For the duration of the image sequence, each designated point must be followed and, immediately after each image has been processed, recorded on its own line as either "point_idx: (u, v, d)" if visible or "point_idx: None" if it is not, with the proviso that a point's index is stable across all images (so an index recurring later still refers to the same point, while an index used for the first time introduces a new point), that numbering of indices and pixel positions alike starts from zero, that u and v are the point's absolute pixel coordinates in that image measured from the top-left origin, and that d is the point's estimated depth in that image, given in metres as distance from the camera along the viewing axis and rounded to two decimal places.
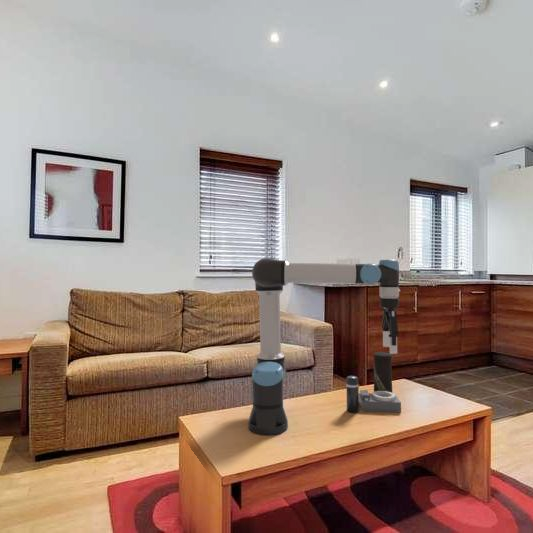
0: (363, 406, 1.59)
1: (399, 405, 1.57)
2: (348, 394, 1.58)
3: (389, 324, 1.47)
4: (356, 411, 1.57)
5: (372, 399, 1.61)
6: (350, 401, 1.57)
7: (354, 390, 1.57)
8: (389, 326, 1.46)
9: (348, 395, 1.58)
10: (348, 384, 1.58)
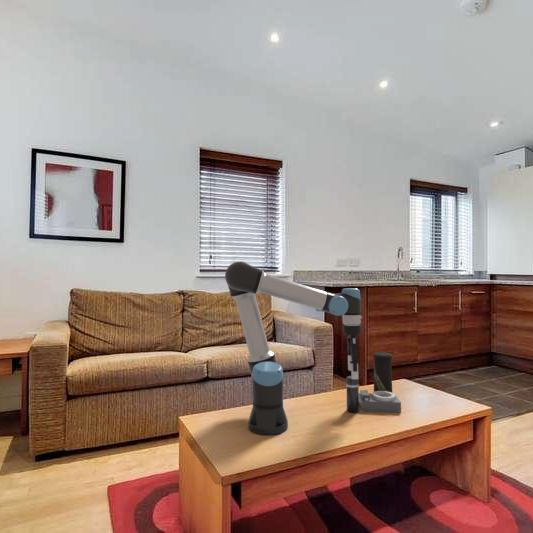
0: (363, 406, 1.59)
1: (399, 405, 1.57)
2: (348, 394, 1.58)
3: (351, 351, 1.54)
4: (356, 411, 1.57)
5: (372, 399, 1.61)
6: (350, 401, 1.57)
7: (354, 390, 1.57)
8: (351, 353, 1.54)
9: (348, 395, 1.58)
10: (348, 384, 1.58)
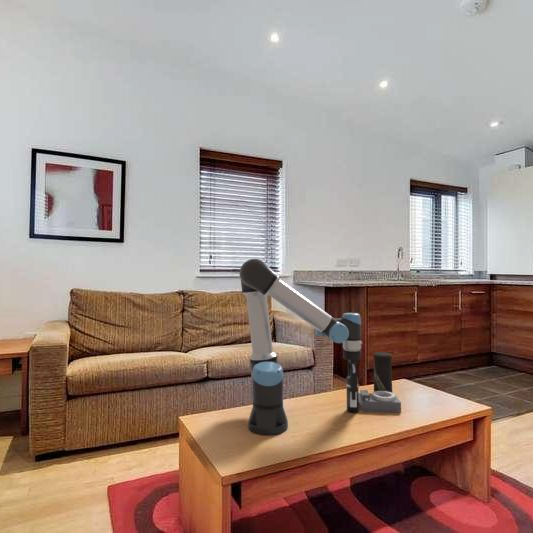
0: (363, 406, 1.59)
1: (399, 405, 1.57)
2: (348, 394, 1.58)
3: (350, 378, 1.56)
4: (356, 411, 1.57)
5: (372, 399, 1.61)
6: None
7: None
8: (350, 380, 1.56)
9: (348, 395, 1.58)
10: (348, 384, 1.58)
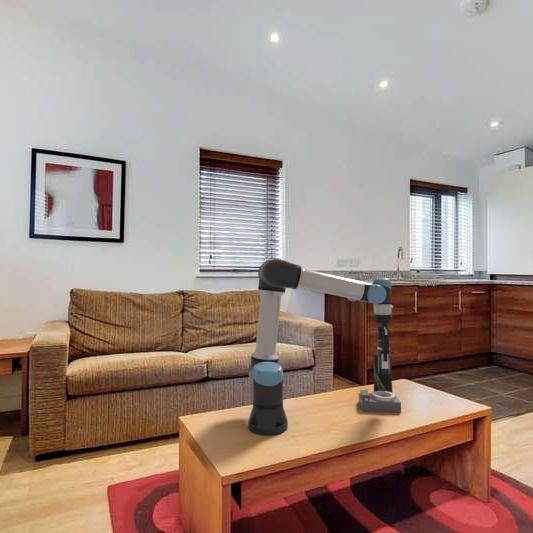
0: (363, 406, 1.59)
1: (399, 405, 1.57)
2: (380, 356, 1.62)
3: (382, 341, 1.61)
4: (388, 373, 1.61)
5: (372, 399, 1.61)
6: None
7: None
8: (382, 343, 1.61)
9: (380, 357, 1.62)
10: (380, 347, 1.62)
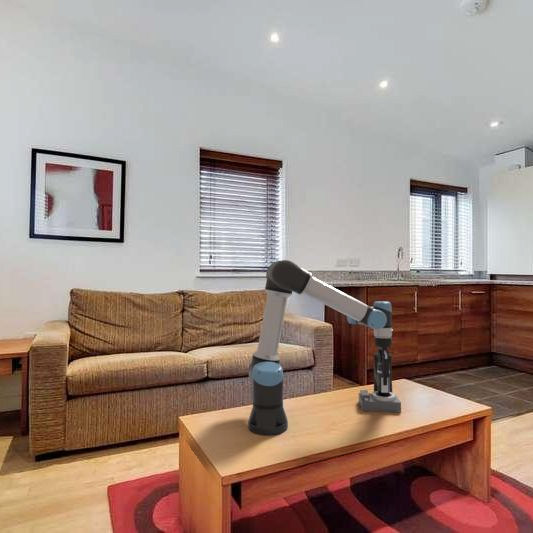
0: (363, 406, 1.59)
1: (399, 405, 1.57)
2: (379, 380, 1.62)
3: (382, 365, 1.61)
4: (387, 396, 1.61)
5: (372, 399, 1.61)
6: None
7: None
8: (381, 367, 1.61)
9: (379, 381, 1.62)
10: (379, 370, 1.62)
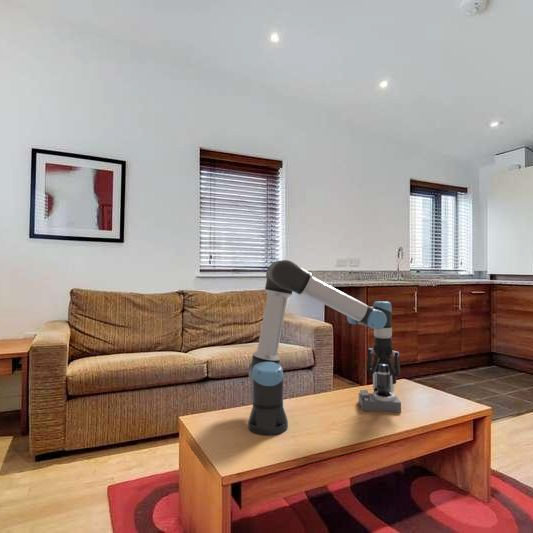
0: (363, 406, 1.59)
1: (399, 405, 1.57)
2: (385, 382, 1.61)
3: (390, 364, 1.61)
4: None
5: (372, 399, 1.61)
6: (387, 388, 1.61)
7: None
8: (391, 366, 1.60)
9: (385, 383, 1.61)
10: (385, 372, 1.61)
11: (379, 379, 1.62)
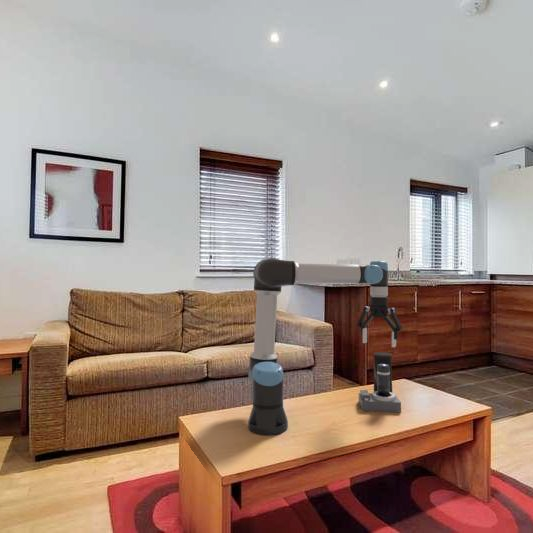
0: (363, 406, 1.59)
1: (399, 405, 1.57)
2: (385, 382, 1.61)
3: (389, 320, 1.60)
4: None
5: (372, 399, 1.61)
6: (387, 388, 1.61)
7: None
8: (390, 322, 1.60)
9: (385, 383, 1.61)
10: (385, 372, 1.61)
11: (379, 379, 1.62)
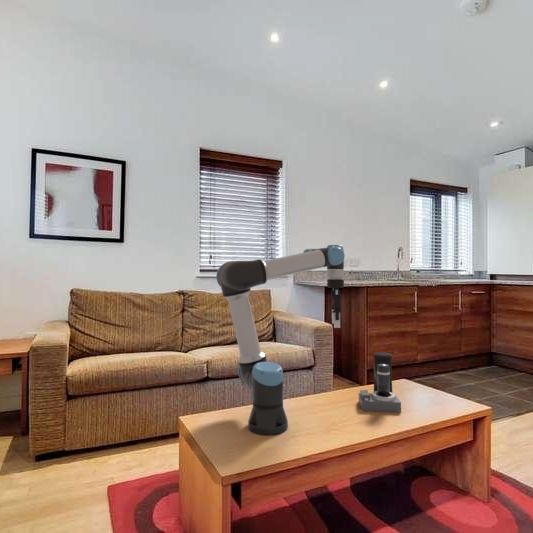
0: (363, 406, 1.59)
1: (399, 405, 1.57)
2: (385, 382, 1.61)
3: None
4: None
5: (372, 399, 1.61)
6: (387, 388, 1.61)
7: None
8: None
9: (385, 383, 1.61)
10: (385, 372, 1.61)
11: (379, 379, 1.62)
